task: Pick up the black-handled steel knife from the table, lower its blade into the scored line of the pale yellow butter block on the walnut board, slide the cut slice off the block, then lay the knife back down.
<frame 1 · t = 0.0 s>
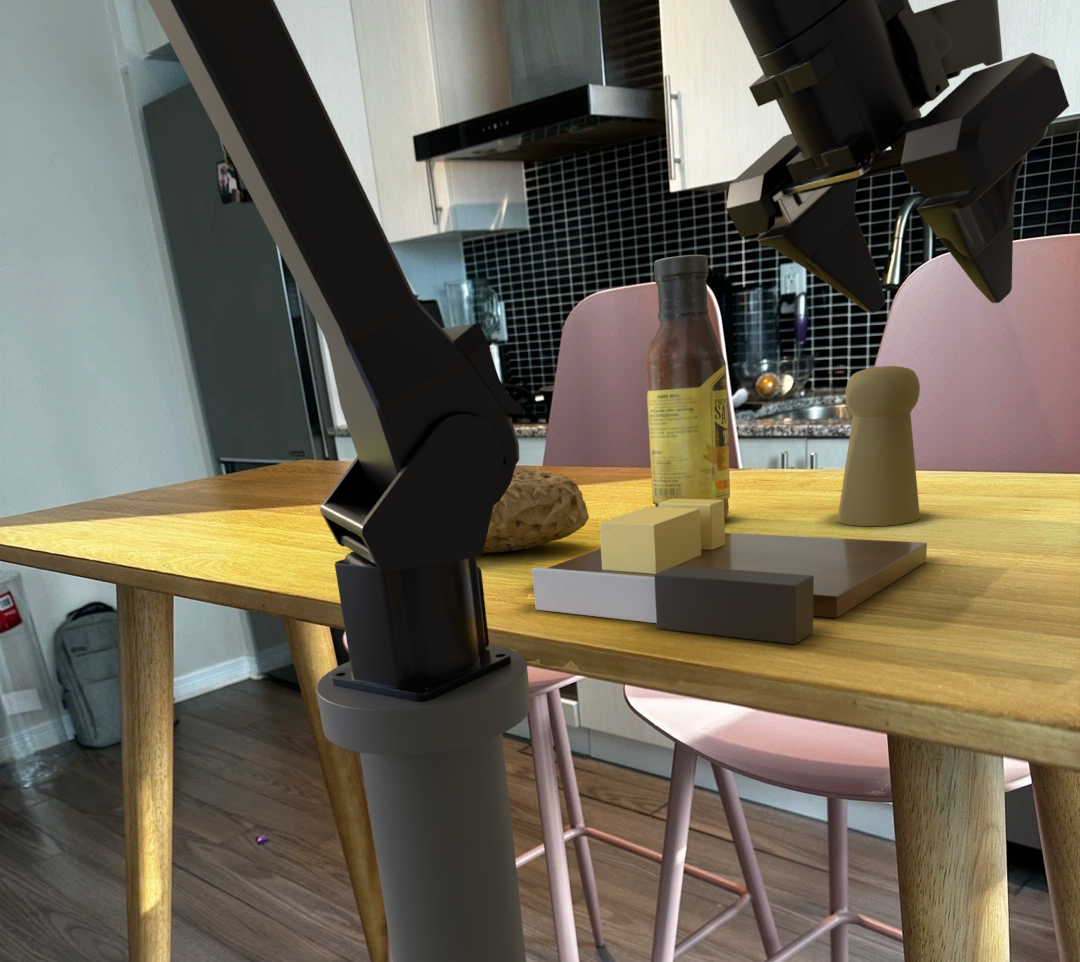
hand: (935, 303, 56), 15 cm above the table, tool tilted 35°, fingers open, 9 cm apart
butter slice: (692, 546, 69), point 1 cm above the table, touching cutting board
sponge: (469, 551, 81), on the table
sauce bottle: (691, 523, 84), on the table
cork: (878, 521, 79), on the table
butter block: (652, 562, 65), resting on cutting board
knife: (732, 630, 54), on the table
cutting board: (729, 575, 65), on the table
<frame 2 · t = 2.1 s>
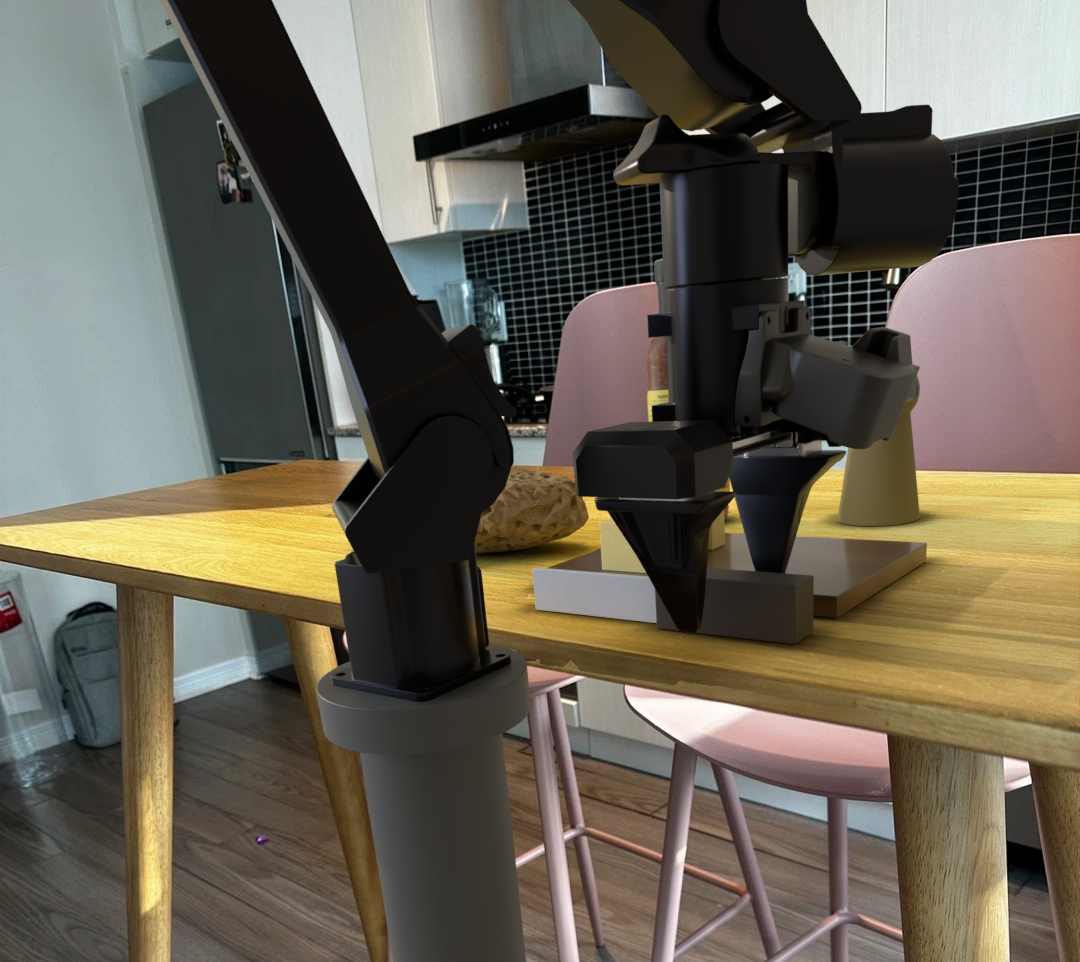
hand: (732, 608, 53), 1 cm above the table, tool pointing down, fingers open, 9 cm apart
nothing on the table moved.
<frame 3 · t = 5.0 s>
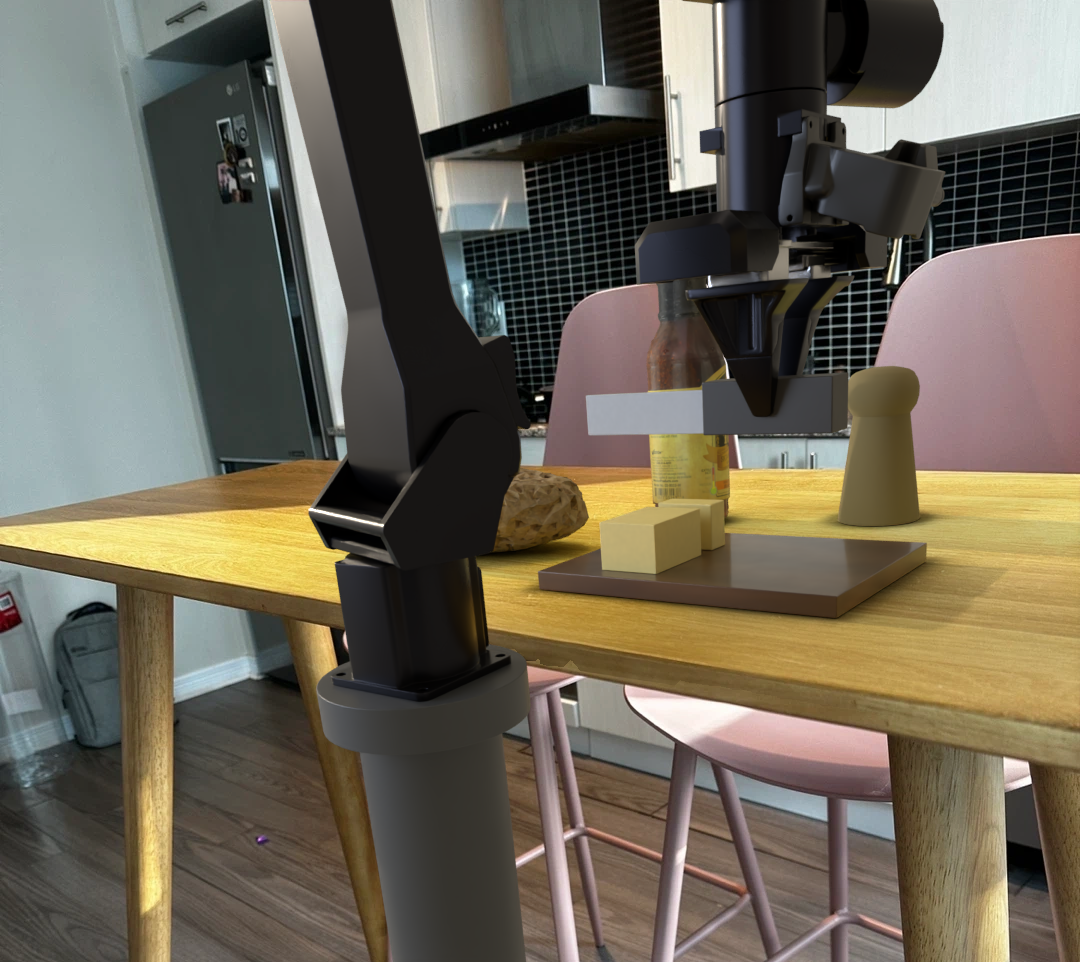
hand: (772, 414, 59), 10 cm above the table, tool pointing down, fingers closed on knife, 2 cm apart
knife: (773, 432, 59), point 9 cm above the table, touching gripper
everything else where it was.
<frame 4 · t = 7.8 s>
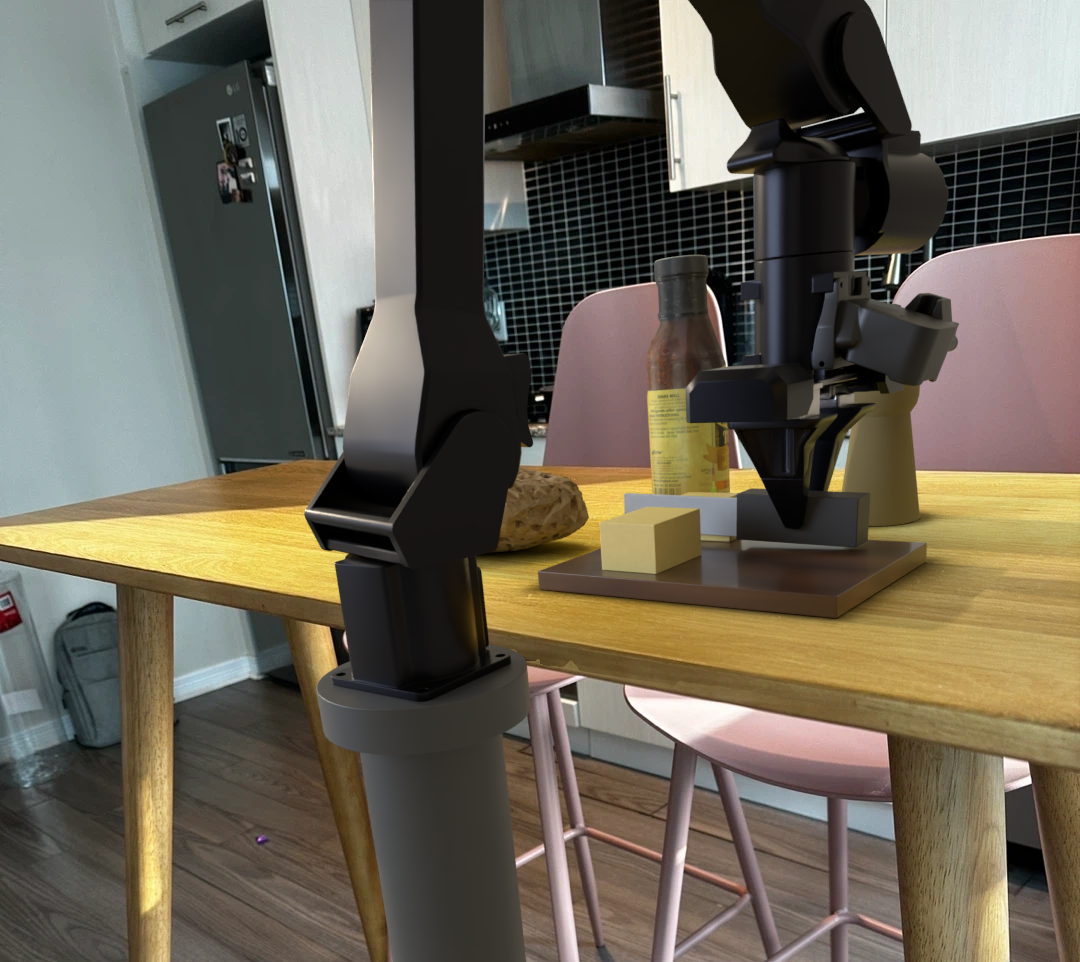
hand: (802, 524, 66), 3 cm above the table, tool pointing down, fingers closed on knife, 2 cm apart
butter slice: (709, 538, 71), point 1 cm above the table, touching cutting board, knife
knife: (800, 540, 66), point 2 cm above the table, touching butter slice, gripper
everything else where it was.
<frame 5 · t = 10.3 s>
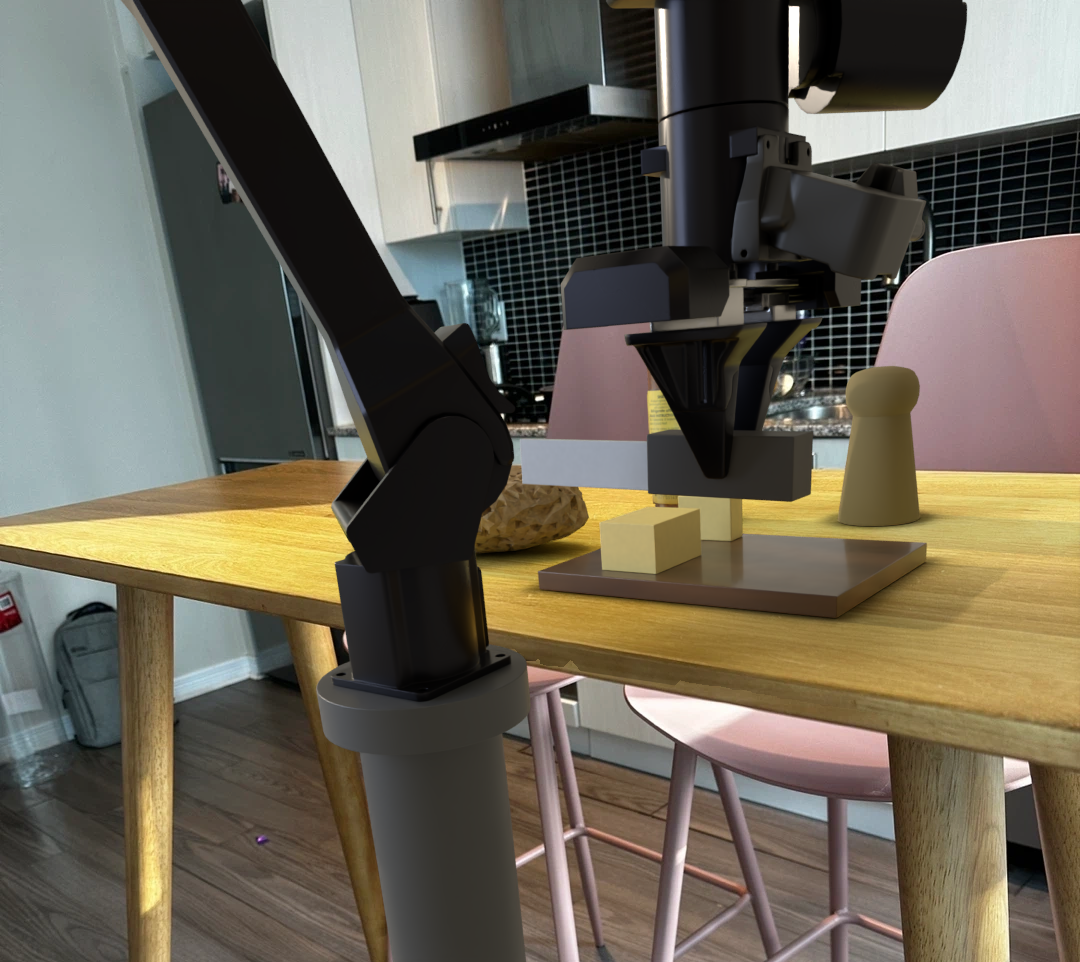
hand: (728, 474, 51), 8 cm above the table, tool pointing down, fingers closed on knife, 2 cm apart
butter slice: (711, 537, 71), point 1 cm above the table, touching cutting board
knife: (726, 494, 51), point 7 cm above the table, touching gripper
everything else where it was.
when the fingers open (1 cm above the table, at t = 12.1 s): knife stays where it is, on the table.
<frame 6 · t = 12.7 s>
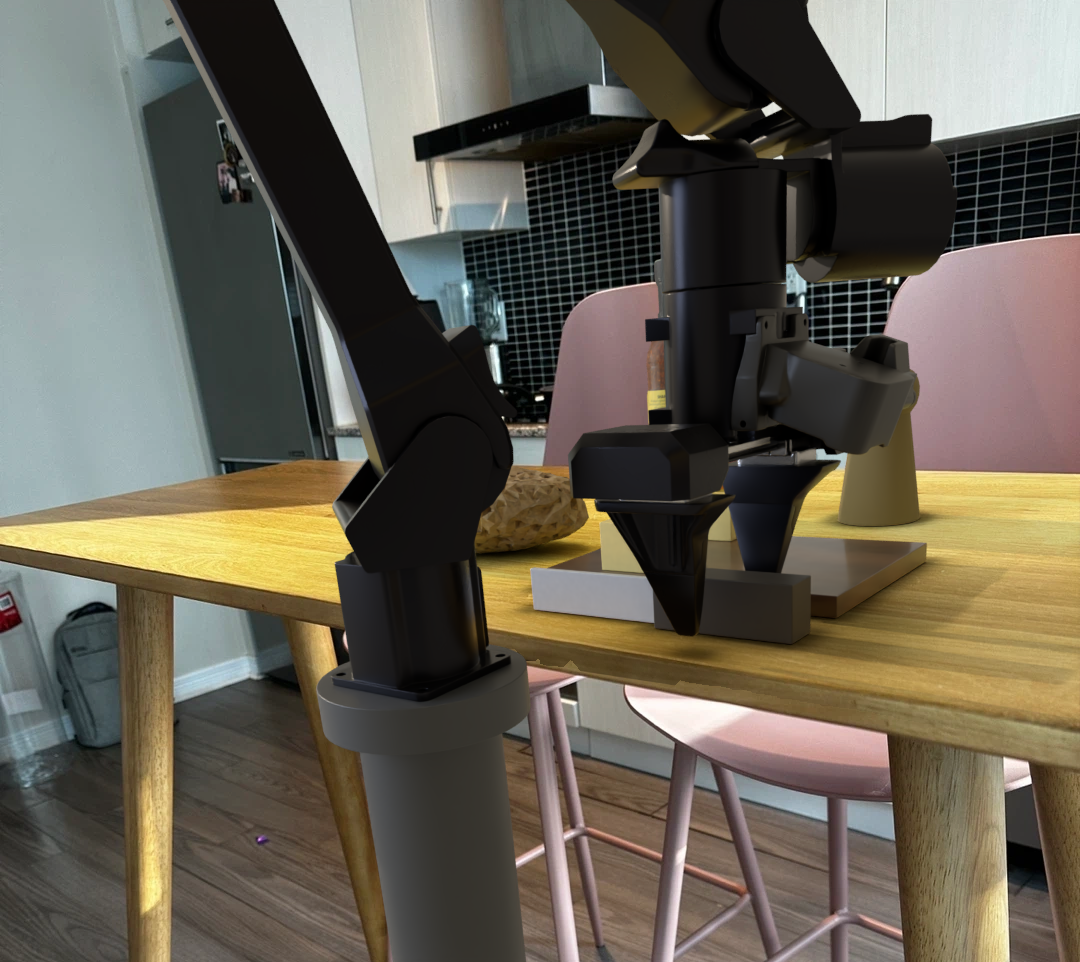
hand: (728, 615, 53), 1 cm above the table, tool pointing down, fingers open, 8 cm apart
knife: (730, 630, 54), on the table
everything else where it was.
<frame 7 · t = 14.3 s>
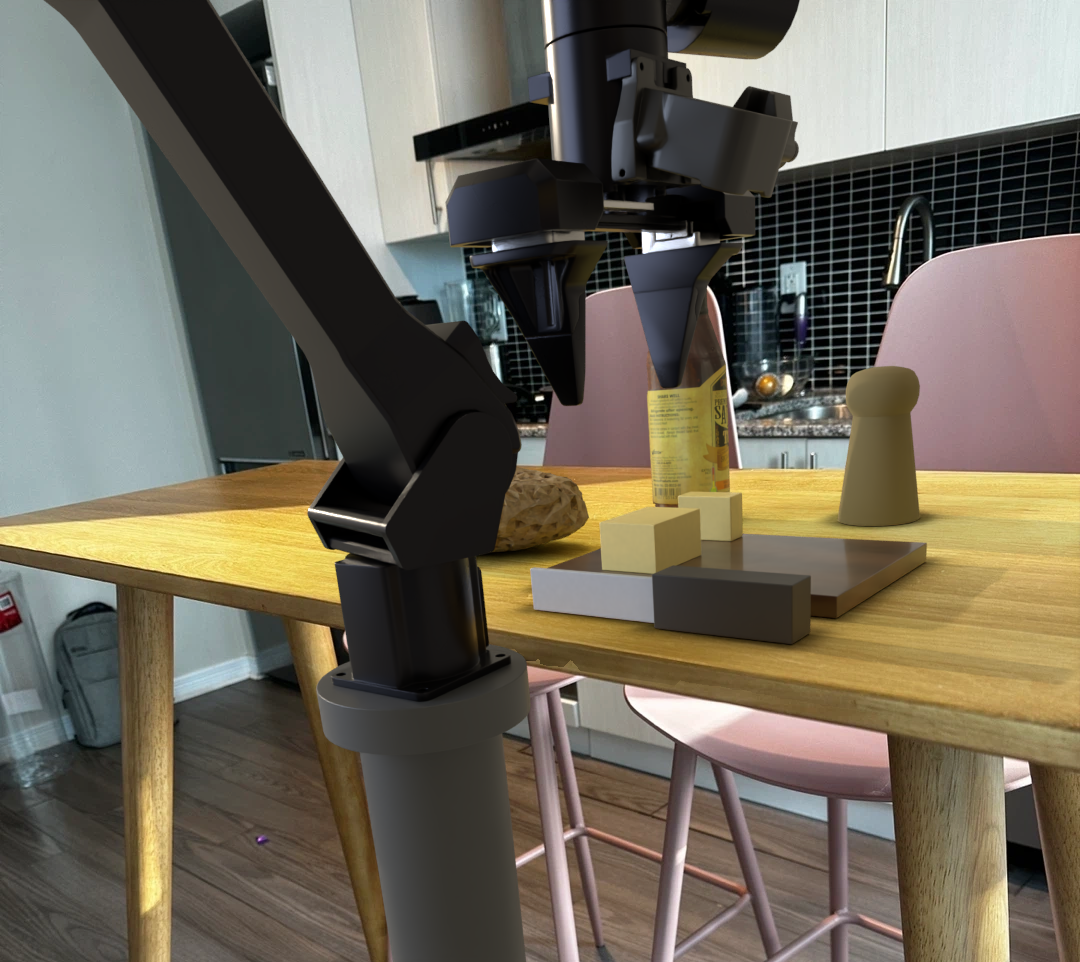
hand: (624, 396, 53), 12 cm above the table, tool pointing down, fingers open, 9 cm apart
nothing on the table moved.
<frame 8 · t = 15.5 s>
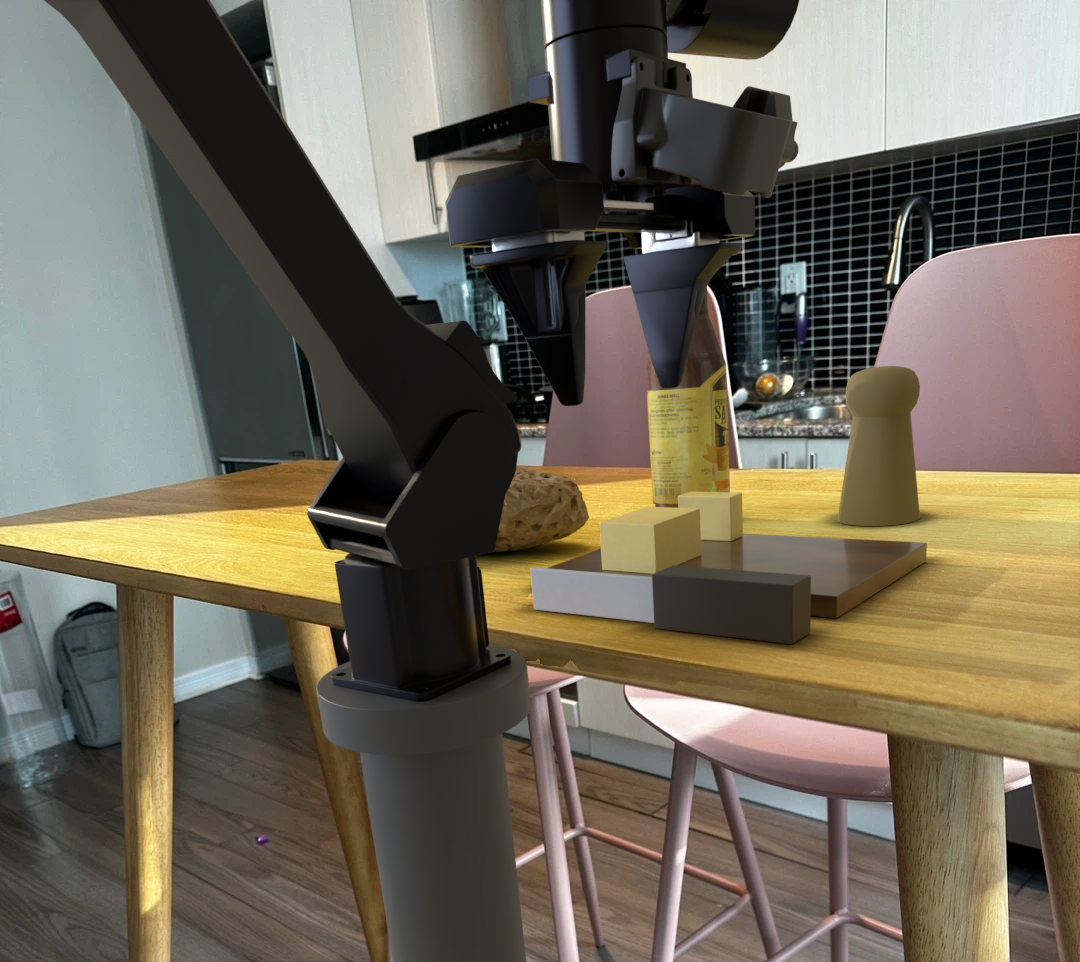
hand: (624, 396, 53), 12 cm above the table, tool pointing down, fingers open, 9 cm apart
nothing on the table moved.
at the end: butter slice 0.4 cm from the target spot on the cutting board, point 1.2 cm above the cutting board's base; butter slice moved 2.8 cm from its start; the gripper is holding nothing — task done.
